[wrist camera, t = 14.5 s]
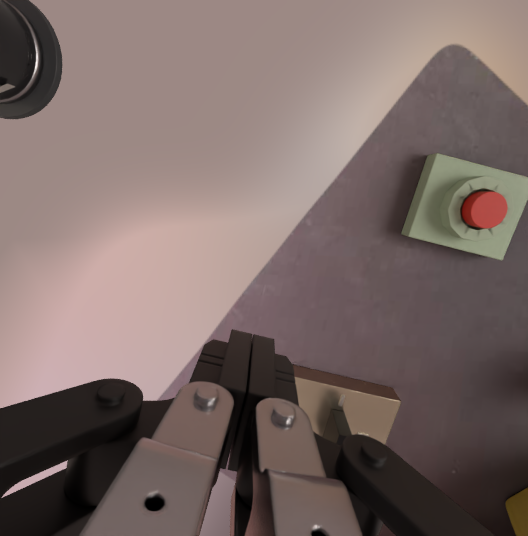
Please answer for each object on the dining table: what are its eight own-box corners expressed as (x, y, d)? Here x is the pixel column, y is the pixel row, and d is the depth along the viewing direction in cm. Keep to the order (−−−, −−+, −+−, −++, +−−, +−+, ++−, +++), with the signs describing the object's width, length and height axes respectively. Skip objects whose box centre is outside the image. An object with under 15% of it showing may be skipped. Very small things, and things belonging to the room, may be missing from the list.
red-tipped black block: (331, 409, 42) (339, 436, 37) (344, 411, 42) (354, 439, 37) (320, 443, 43) (327, 474, 38) (333, 446, 43) (341, 477, 38)
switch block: (400, 234, 40) (414, 239, 36) (427, 154, 38) (445, 151, 34) (490, 256, 40) (513, 264, 36) (521, 179, 38) (549, 178, 34)
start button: (455, 222, 36) (465, 223, 34) (468, 187, 35) (479, 187, 33) (488, 230, 36) (499, 232, 34) (501, 196, 35) (513, 196, 34)
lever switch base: (266, 435, 46) (266, 453, 43) (287, 362, 44) (288, 376, 40) (366, 458, 47) (373, 477, 44) (392, 387, 44) (402, 402, 41)
